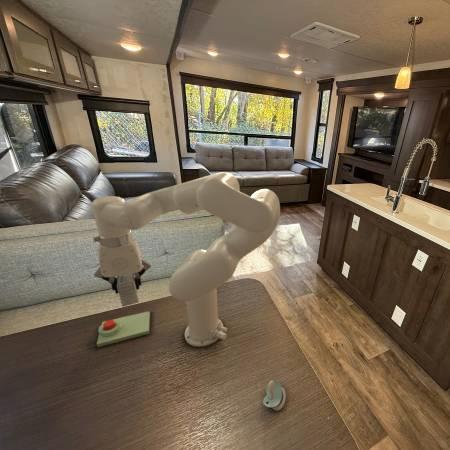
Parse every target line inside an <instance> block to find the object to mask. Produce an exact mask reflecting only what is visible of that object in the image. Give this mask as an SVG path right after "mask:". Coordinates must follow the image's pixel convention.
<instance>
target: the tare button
mask: <svg viewBox="0 0 450 450" xmlns="http://www.w3.org/2000/svg"><path fill="white" fill-rule="evenodd" d="M105 321H106V322H105ZM105 321H104V322H105V323H104V324H103V326H104V330H106V331H107V330H111V329H113V328H114V327H115V321H114V320H113V319H108V320H105Z"/></svg>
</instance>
